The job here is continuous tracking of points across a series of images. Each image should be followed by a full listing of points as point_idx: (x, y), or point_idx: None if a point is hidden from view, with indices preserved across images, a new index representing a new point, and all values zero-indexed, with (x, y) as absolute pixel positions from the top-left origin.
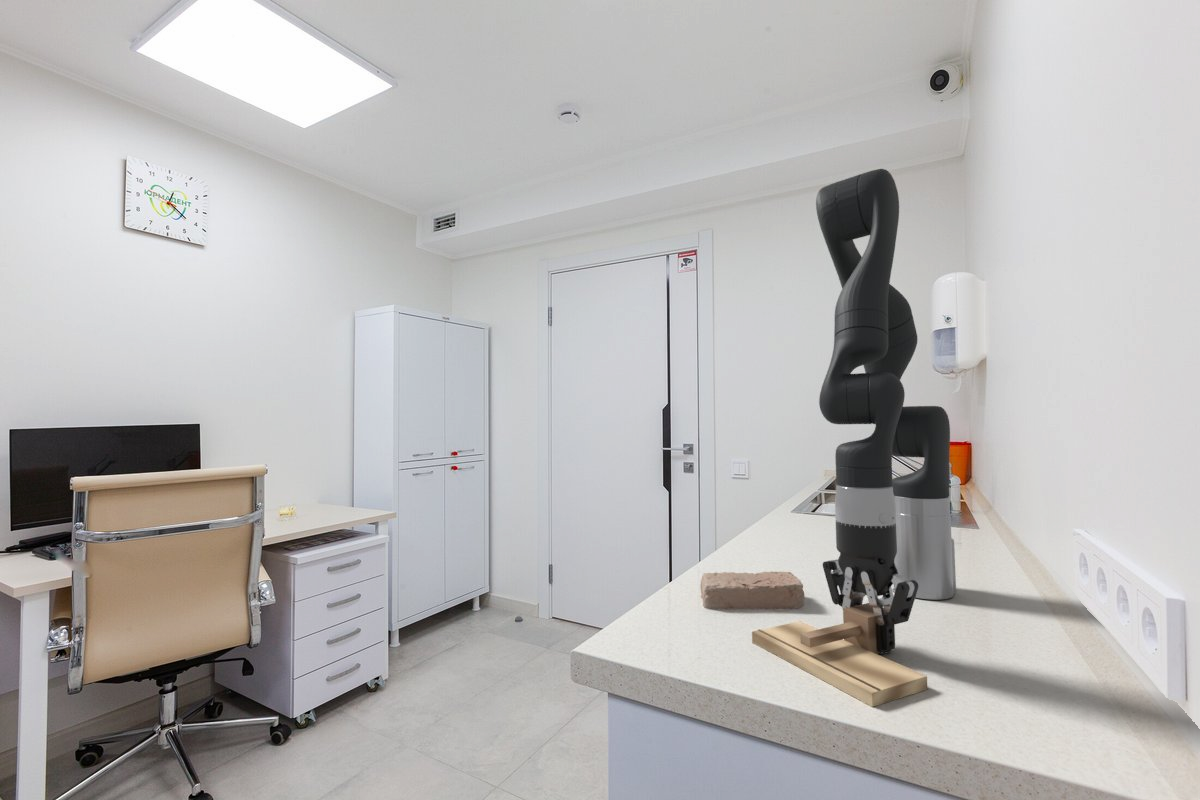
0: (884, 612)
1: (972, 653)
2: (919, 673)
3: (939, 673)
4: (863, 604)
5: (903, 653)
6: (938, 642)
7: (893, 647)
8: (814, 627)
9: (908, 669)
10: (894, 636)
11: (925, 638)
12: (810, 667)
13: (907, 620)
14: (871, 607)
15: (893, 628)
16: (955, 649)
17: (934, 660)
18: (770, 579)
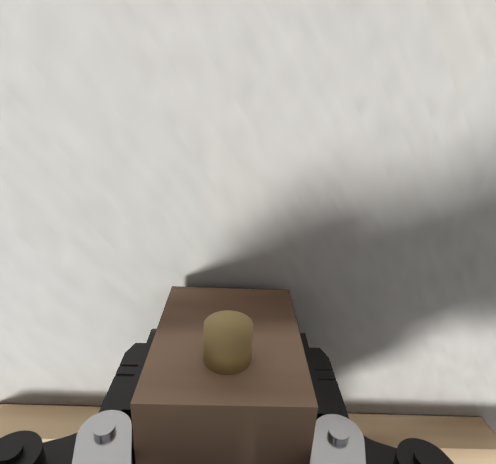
0: (295, 452)
1: (489, 18)
2: (484, 452)
3: (465, 310)
4: (138, 443)
5: (310, 270)
6: (331, 27)
7: (322, 353)
8: (48, 440)
9: (450, 454)
10: (296, 321)
11: (267, 33)
12: None
13: (441, 456)
14: (201, 447)
15: (345, 413)
16: (419, 42)
17: (411, 232)
18: None
